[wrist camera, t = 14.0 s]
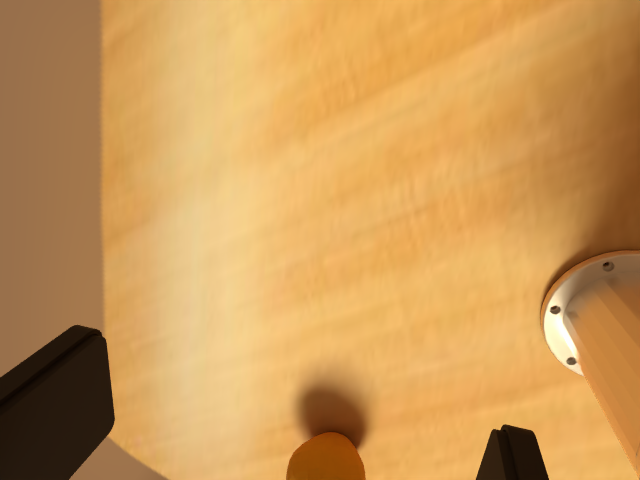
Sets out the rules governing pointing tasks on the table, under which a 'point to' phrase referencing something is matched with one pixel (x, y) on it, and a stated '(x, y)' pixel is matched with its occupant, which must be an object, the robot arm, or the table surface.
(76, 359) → the robot arm
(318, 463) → the apple
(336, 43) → the table surface
